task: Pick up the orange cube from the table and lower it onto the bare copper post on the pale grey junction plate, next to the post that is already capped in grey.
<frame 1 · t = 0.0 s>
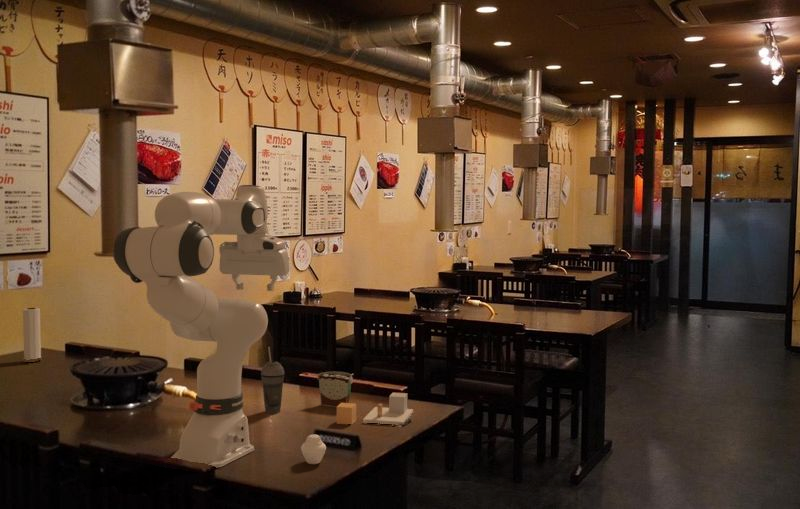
hand: (255, 290, 216), 39 cm above the table, tool pointing down, fingers open, 8 cm apart
chef's knife: (393, 430, 214), on the table
beverage cup: (272, 412, 231), on the table
orange cube: (346, 422, 221), on the table
food container: (338, 405, 240), on the table
junction plate: (388, 418, 225), on the table
muffin: (313, 462, 186), on the table
paper towel roll: (31, 362, 300), on the table
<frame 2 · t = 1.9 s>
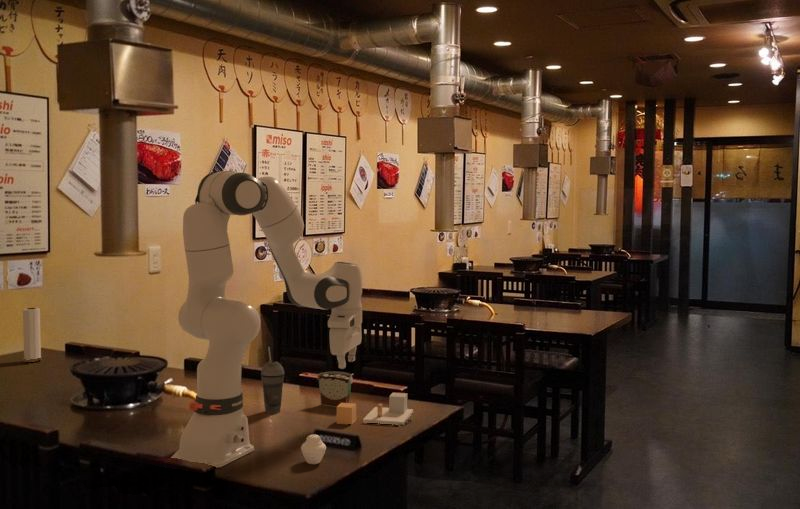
hand: (346, 364, 220), 17 cm above the table, tool pointing down, fingers open, 8 cm apart
nothing on the table moved.
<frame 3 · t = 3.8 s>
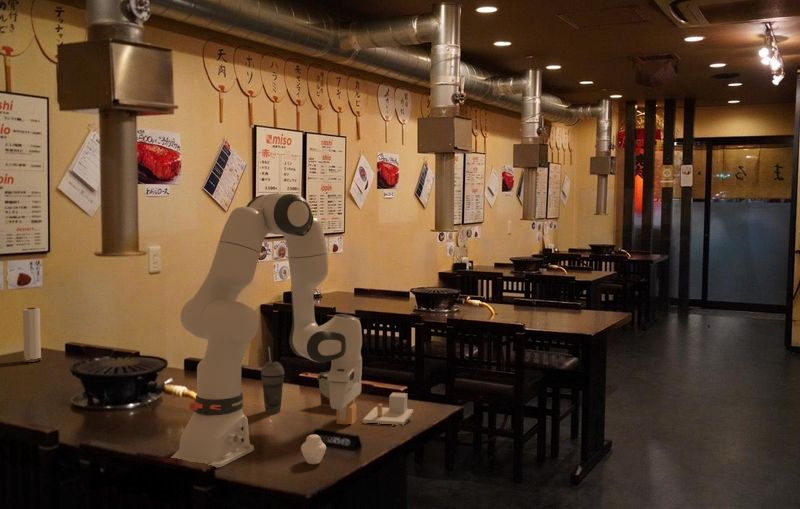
hand: (346, 416, 221), 2 cm above the table, tool pointing down, fingers closed on orange cube, 5 cm apart
orange cube: (346, 422, 221), on the table, touching gripper
everything else where it was.
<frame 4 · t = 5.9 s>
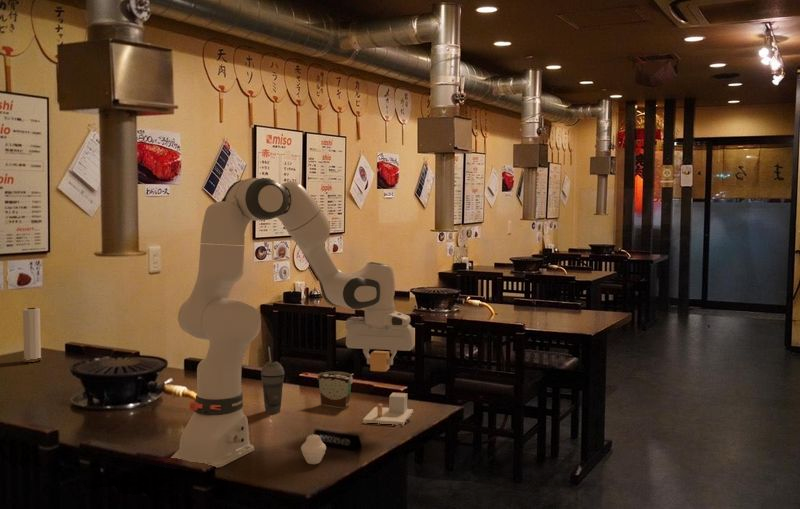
hand: (379, 364, 222), 17 cm above the table, tool pointing down, fingers closed on orange cube, 5 cm apart
orange cube: (379, 369, 222), point 15 cm above the table, touching gripper
everything else where it was.
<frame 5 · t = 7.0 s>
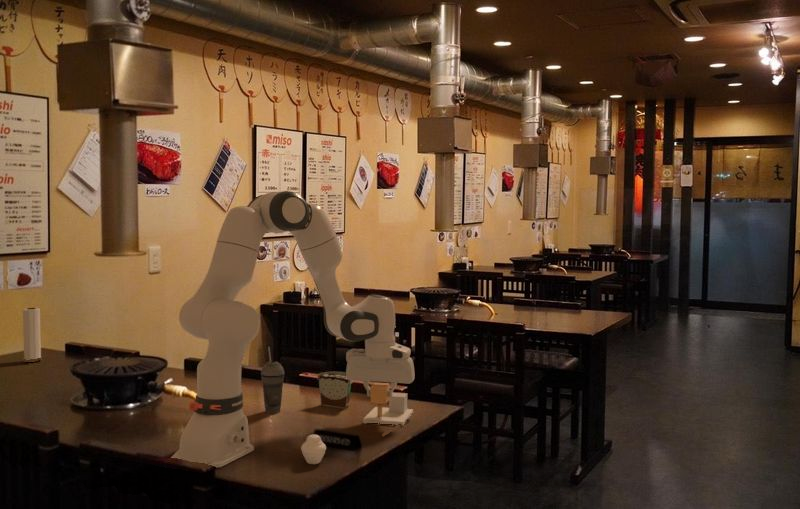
hand: (380, 396, 222), 7 cm above the table, tool pointing down, fingers closed on orange cube, 5 cm apart
orange cube: (380, 401, 222), point 6 cm above the table, touching gripper
everything else where it was.
when the fingers open (4 cm above the table, at t = 8.1 s): orange cube drops 1 cm, resting on junction plate.
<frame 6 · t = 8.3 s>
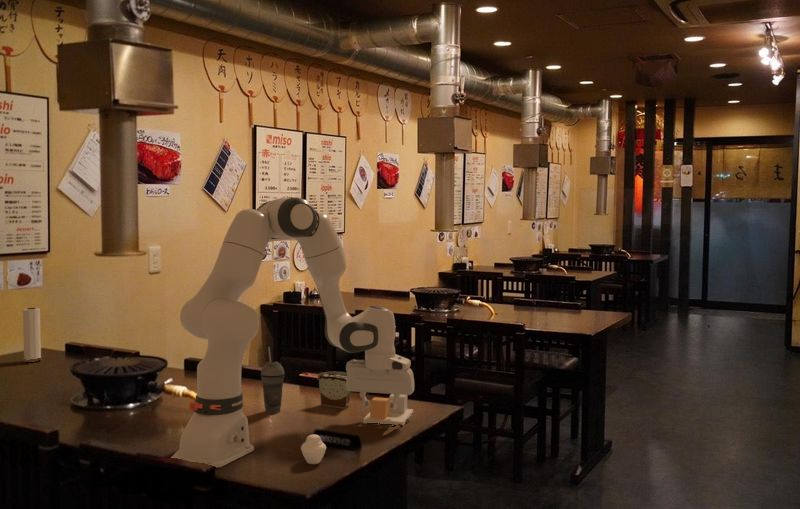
hand: (379, 407, 222), 4 cm above the table, tool pointing down, fingers open, 7 cm apart
orange cube: (379, 416, 222), point 1 cm above the table, touching junction plate
everything else where it was.
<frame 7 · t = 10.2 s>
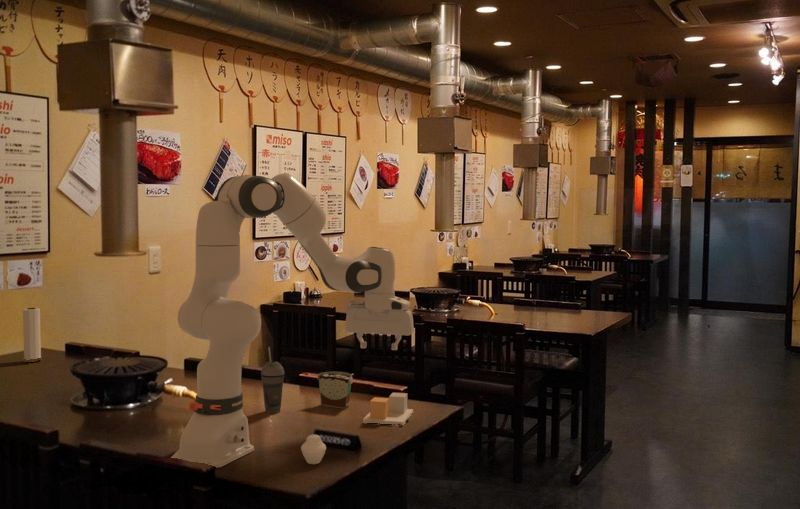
hand: (378, 348, 222), 21 cm above the table, tool pointing down, fingers open, 8 cm apart
nothing on the table moved.
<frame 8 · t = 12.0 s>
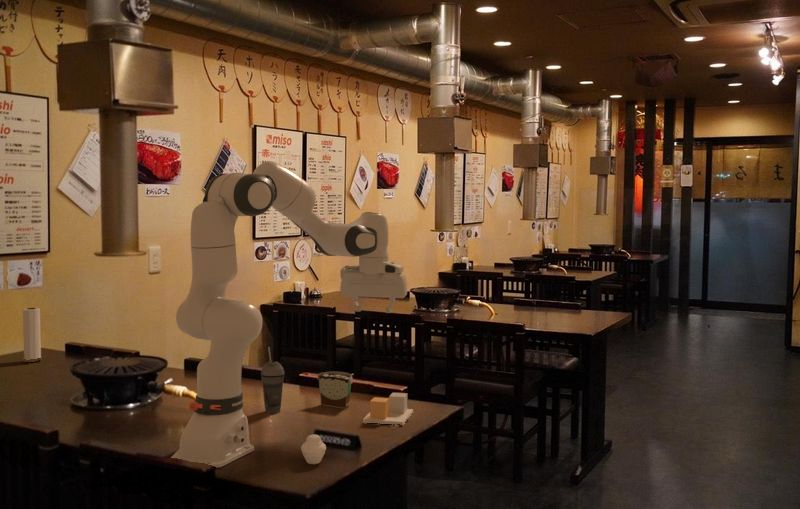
hand: (373, 311, 228), 31 cm above the table, tool pointing down, fingers open, 8 cm apart
nothing on the table moved.
at the end: orange cube 0.0 cm from the target spot on the junction plate, point 1.2 cm above the junction plate's base; orange cube tilted 0°; the gripper is holding nothing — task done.
